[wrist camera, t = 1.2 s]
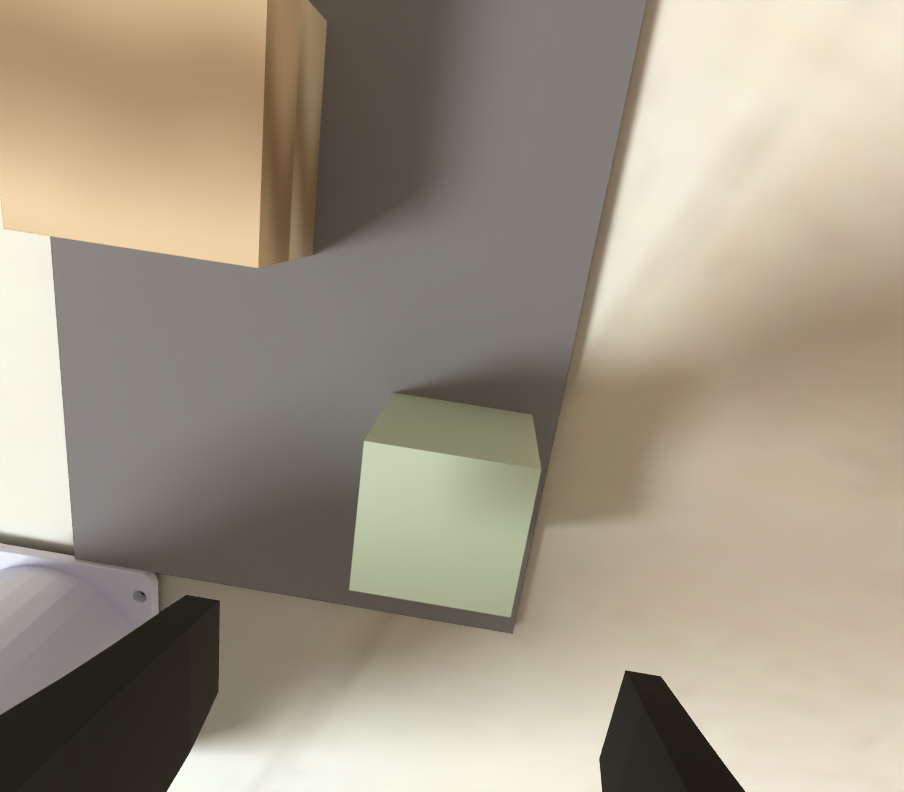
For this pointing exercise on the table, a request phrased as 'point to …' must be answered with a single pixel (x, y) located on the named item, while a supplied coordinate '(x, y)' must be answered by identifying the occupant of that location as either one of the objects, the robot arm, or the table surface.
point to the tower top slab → (151, 124)
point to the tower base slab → (307, 130)
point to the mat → (351, 299)
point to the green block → (445, 504)
